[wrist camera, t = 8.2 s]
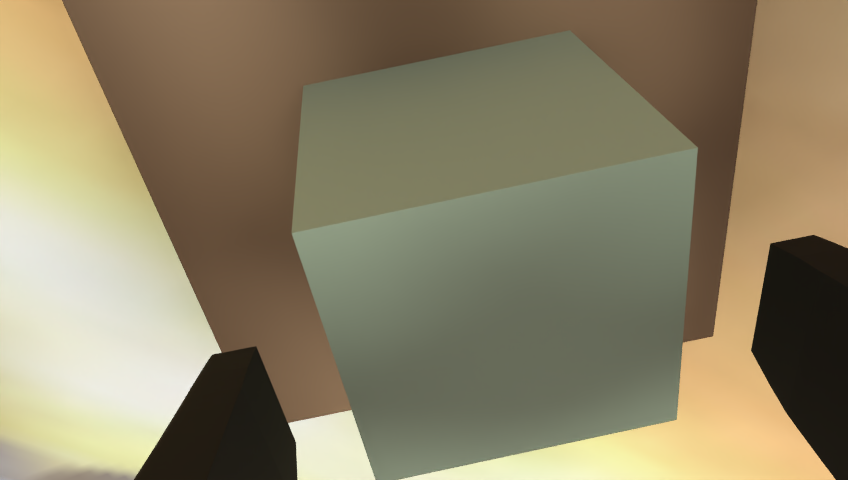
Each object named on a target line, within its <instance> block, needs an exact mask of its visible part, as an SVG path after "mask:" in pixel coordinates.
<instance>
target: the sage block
mask: <svg viewBox="0 0 848 480" xmlns="http://www.w3.org/2000/svg"><path fill="white" fill-rule="evenodd" d="M697 153H698V147H697V146H696V145H694V144H693V143H692V142H691V141H690V140H689V139H688V138H687V137H686V136H685V135H684V134H682V133H681V132H680V131H679V130H678V129H677V128H676V127H675V126H674V125H673V124H672V123H670V122H669V121H668V120H667V119H666V118H665V117H664V116H663V115H662V114H661V113H660V112H658V111H657V110H656V109H655V108H654V107H653V106H652V105H651V104H650V103H649V102H648V101H646V100H645V99H644V98H643V97H642V96H641V95H640V94H639V93H638V92H637V91H636V90H634V89H633V88H632V87H631V86H630V85H629V84H628V83H627V82H626V81H625V80H624V79H622V78H621V77H620V76H619V75H618V74H617V73H616V72H615V71H614V70H613V69H612V68H610V67H609V66H608V65H607V64H606V63H605V62H604V61H603V60H602V59H601V58H600V57H598V56H597V55H596V54H595V53H594V52H593V51H592V50H591V49H590V48H589V47H588V46H586V45H585V44H584V43H583V42H582V41H581V40H580V39H579V38H578V37H577V36H576V35H574V34H573V33H572V32H571V31H570V30H569V31H564V32H560V33H555V34H550V35H545V36H540V37H536V38H531V39H526V40H521V41H516V42H512V43H507V44H502V45H497V46H492V47H487V48H483V49H478V50H473V51H468V52H463V53H459V54H454V55H449V56H444V57H439V58H435V59H430V60H425V61H420V62H415V63H411V64H406V65H401V66H396V67H391V68H387V69H382V70H377V71H372V72H367V73H363V74H358V75H353V76H348V77H343V78H339V79H334V80H329V81H324V82H319V83H315V84H310V85H305V86H303V95H302V108H301V120H300V133H299V145H298V158H297V170H296V183H295V195H294V208H293V220H292V236H293V239H294V242H295V245H296V248H297V251H298V254H299V257H300V260H301V263H302V265H303V268H304V271H305V274H306V277H307V280H308V283H309V286H310V289H311V292H312V295H313V298H314V301H315V304H316V306H317V309H318V312H319V315H320V318H321V321H322V324H323V327H324V330H325V333H326V336H327V339H328V342H329V345H330V347H331V350H332V353H333V356H334V359H335V362H336V365H337V368H338V371H339V374H340V377H341V380H342V383H343V386H344V388H345V391H346V394H347V397H348V400H349V403H350V406H351V409H352V412H353V415H354V418H355V421H356V424H357V427H358V429H359V432H360V435H361V438H362V441H363V444H364V447H365V450H366V453H367V456H368V459H369V462H370V465H371V467H372V470H373V473H374V476H375V479H376V480H398V479H403V478H408V477H412V476H417V475H422V474H426V473H431V472H436V471H440V470H445V469H449V468H454V467H459V466H463V465H468V464H473V463H477V462H482V461H487V460H491V459H496V458H501V457H505V456H510V455H515V454H519V453H524V452H529V451H533V450H538V449H543V448H547V447H552V446H557V445H561V444H566V443H571V442H575V441H580V440H585V439H589V438H594V437H598V436H603V435H608V434H612V433H617V432H622V431H626V430H631V429H636V428H640V427H645V426H650V425H654V424H659V423H664V422H668V421H673V420H677V407H678V395H679V382H680V369H681V356H682V344H683V331H684V318H685V306H686V293H687V280H688V267H689V255H690V242H691V229H692V217H693V204H694V191H695V179H696V166H697Z"/></svg>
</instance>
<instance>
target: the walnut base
mask: <svg viewBox="0 0 848 480" xmlns="http://www.w3.org/2000/svg"><path fill="white" fill-rule="evenodd" d="M62 1H63V4H64V6H65V8H66V10H67V12H68V15H69V17H70V19H71V21H72V23H73V26H74V28H75V30H76V32H77V34H78V37H79V39H80V41H81V43H82V45H83V48H84V50H85V52H86V54H87V56H88V59H89V61H90V63H91V65H92V67H93V70H94V72H95V74H96V76H97V78H98V81H99V83H100V85H101V87H102V89H103V92H104V94H105V96H106V98H107V100H108V103H109V105H110V107H111V109H112V112H113V114H114V116H115V118H116V120H117V123H118V125H119V127H120V129H121V131H122V134H123V136H124V138H125V140H126V142H127V145H128V147H129V149H130V151H131V153H132V156H133V158H134V160H135V162H136V164H137V167H138V169H139V171H140V173H141V175H142V178H143V180H144V182H145V184H146V186H147V189H148V191H149V193H150V195H151V197H152V200H153V202H154V204H155V206H156V208H157V211H158V213H159V215H160V217H161V219H162V222H163V224H164V226H165V228H166V230H167V233H168V235H169V237H170V239H171V241H172V244H173V246H174V248H175V250H176V252H177V255H178V257H179V259H180V261H181V264H182V266H183V268H184V270H185V272H186V275H187V277H188V279H189V281H190V283H191V286H192V288H193V290H194V292H195V294H196V297H197V299H198V301H199V303H200V305H201V308H202V310H203V312H204V314H205V316H206V319H207V321H208V323H209V325H210V327H211V330H212V332H213V334H214V336H215V338H216V341H217V343H218V345H219V347H220V349H221V352H222V353H224V352H229V351H234V350H239V349H244V348H249V347H254V346H256V347H257V349H258V352H259V354H260V357H261V359H262V361H263V364H264V366H265V369H266V371H267V374H268V376H269V378H270V381H271V383H272V386H273V388H274V391H275V393H276V395H277V398H278V400H279V403H280V405H281V408H282V410H283V413H284V415H285V417H286V420H287V422H288V423H290V422H294V421H299V420H304V419H309V418H314V417H319V416H324V415H329V414H334V413H339V412H344V411H348V410H352V409H351V406H350V403H349V400H348V397H347V394H346V391H345V388H344V386H343V383H342V380H341V377H340V374H339V371H338V368H337V365H336V362H335V359H334V356H333V353H332V350H331V347H330V345H329V342H328V339H327V336H326V333H325V330H324V327H323V324H322V321H321V318H320V315H319V312H318V309H317V306H316V304H315V301H314V298H313V295H312V292H311V289H310V286H309V283H308V280H307V277H306V274H305V271H304V268H303V265H302V263H301V260H300V257H299V254H298V251H297V248H296V245H295V242H294V239H293V236H292V220H293V208H294V195H295V183H296V170H297V158H298V145H299V133H300V120H301V108H302V95H303V86H305V85H310V84H315V83H319V82H324V81H329V80H334V79H339V78H343V77H348V76H353V75H358V74H363V73H367V72H372V71H377V70H382V69H387V68H391V67H396V66H401V65H406V64H411V63H415V62H420V61H425V60H430V59H435V58H439V57H444V56H449V55H454V54H459V53H463V52H468V51H473V50H478V49H483V48H487V47H492V46H497V45H502V44H507V43H512V42H516V41H521V40H526V39H531V38H536V37H540V36H545V35H550V34H555V33H560V32H564V31H569V30H570V31H571V32H572V33H573V34H574V35H576V36H577V37H578V38H579V39H580V40H581V41H582V42H583V43H584V44H585V45H586V46H588V47H589V48H590V49H591V50H592V51H593V52H594V53H595V54H596V55H597V56H598V57H600V58H601V59H602V60H603V61H604V62H605V63H606V64H607V65H608V66H609V67H610V68H612V69H613V70H614V71H615V72H616V73H617V74H618V75H619V76H620V77H621V78H622V79H624V80H625V81H626V82H627V83H628V84H629V85H630V86H631V87H632V88H633V89H634V90H636V91H637V92H638V93H639V94H640V95H641V96H642V97H643V98H644V99H645V100H646V101H648V102H649V103H650V104H651V105H652V106H653V107H654V108H655V109H656V110H657V111H658V112H660V113H661V114H662V115H663V116H664V117H665V118H666V119H667V120H668V121H669V122H670V123H672V124H673V125H674V126H675V127H676V128H677V129H678V130H679V131H680V132H681V133H682V134H684V135H685V136H686V137H687V138H688V139H689V140H690V141H691V142H692V143H693V144H694V145H696V146H697V147H698V153H697V166H696V179H695V191H694V204H693V217H692V229H691V242H690V255H689V267H688V280H687V293H686V306H685V318H684V331H683V342H687V341H692V340H697V339H702V338H707V337H712V336H713V332H714V325H715V317H716V310H717V302H718V294H719V287H720V279H721V271H722V264H723V256H724V249H725V241H726V233H727V226H728V218H729V211H730V203H731V195H732V188H733V180H734V173H735V165H736V157H737V150H738V142H739V135H740V127H741V119H742V112H743V104H744V97H745V89H746V81H747V74H748V66H749V58H750V51H751V43H752V36H753V28H754V20H755V13H756V5H757V0H62Z"/></svg>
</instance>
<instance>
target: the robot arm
mask: <svg viewBox="0 0 848 480" xmlns="http://www.w3.org/2000/svg"><path fill="white" fill-rule="evenodd" d="M751 351H752V353H753V355H754V357H755V358H756V360H757V362H758V364H759V366H760V368H761V369H762V371H763V373H764V375H765V377H766V379H767V381H768V382H769V384H770V386H771V388H772V389H773V391H774V393H775V394H776V396H777V398H778V399H779V401H780V403H781V405H782V406H783V408H784V410H785V411H786V413H787V414H788V416H789V417H790V419H791V420H792V421H793V423H794V424H795V426H796V427H797V428H798V430H799V431H800V432H801V434H802V435H803V436H804V438H805V439H806V440H807V442H808V443H809V444H810V446H811V447H812V448H813V450H814V451H815V452H816V454H817V455H818V457H819V458H820V459H821V461H822V462H823V463H824V465H825V466H826V467H827V469H828V470H829V471H830V472H831V474H832V475H833V476H834V478H835V479H836V480H848V248H845V247H843V246H840V245H838V244H836V243H833V242H831V241H828V240H826V239H823V238H820V237H818V236H815V235H811V236H806V237H801V238H796V239H791V240H786V241H781V242H776V243H771V244H770V249H769V255H768V261H767V266H766V272H765V277H764V283H763V288H762V294H761V299H760V305H759V310H758V316H757V321H756V327H755V333H754V338H753V344H752V349H751ZM134 480H297V461H296V442H295V439H294V437H293V434H292V432H291V430H290V427H289V425H288V422H287V420H286V417H285V415H284V413H283V410H282V408H281V405H280V403H279V400H278V398H277V395H276V393H275V391H274V388H273V386H272V383H271V381H270V378H269V376H268V374H267V371H266V369H265V366H264V364H263V361H262V359H261V357H260V354H259V352H258V349H257V347H256V346H254V347H249V348H244V349H239V350H234V351H229V352H224V353H219V354H214V355H212V356H211V357H210V359H209V360H208V362H207V363H206V365H205V366H204V368H203V370H202V371H201V373H200V374H199V376H198V378H197V379H196V381H195V382H194V384H193V386H192V387H191V389H190V391H189V392H188V394H187V396H186V397H185V399H184V401H183V402H182V404H181V406H180V407H179V409H178V411H177V412H176V414H175V415H174V417H173V419H172V420H171V422H170V424H169V425H168V427H167V428H166V430H165V432H164V433H163V435H162V437H161V438H160V440H159V441H158V443H157V445H156V446H155V448H154V449H153V451H152V452H151V454H150V455H149V457H148V459H147V460H146V462H145V463H144V465H143V466H142V468H141V469H140V471H139V473H138V474H137V476H136V477H135V479H134Z"/></svg>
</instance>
